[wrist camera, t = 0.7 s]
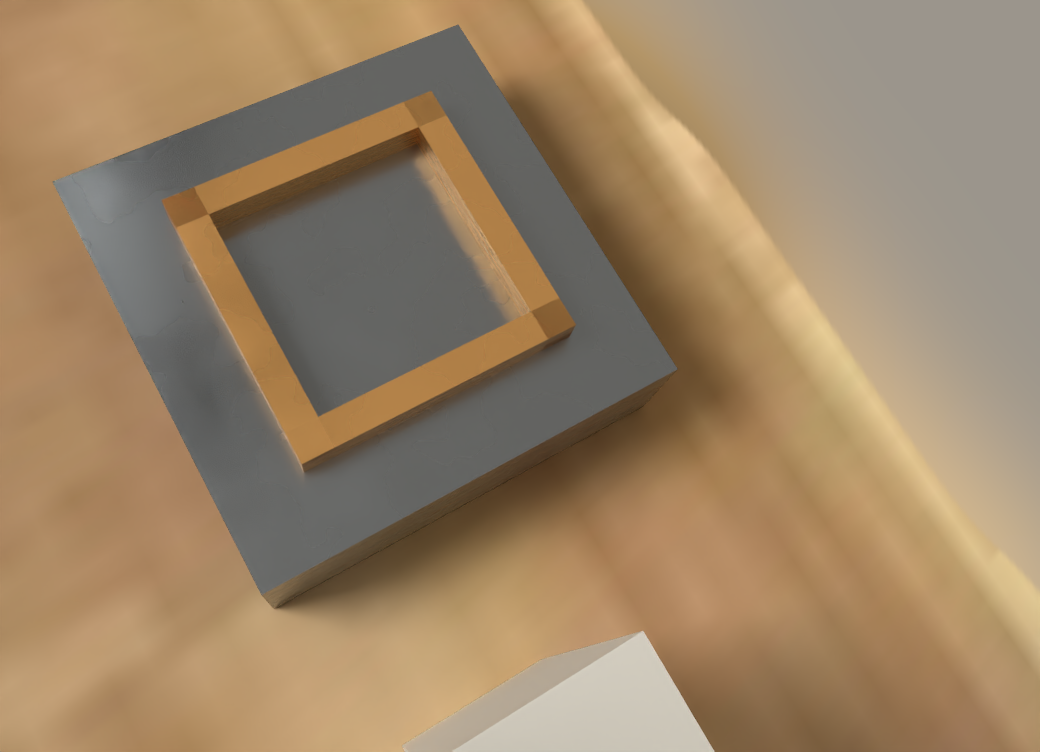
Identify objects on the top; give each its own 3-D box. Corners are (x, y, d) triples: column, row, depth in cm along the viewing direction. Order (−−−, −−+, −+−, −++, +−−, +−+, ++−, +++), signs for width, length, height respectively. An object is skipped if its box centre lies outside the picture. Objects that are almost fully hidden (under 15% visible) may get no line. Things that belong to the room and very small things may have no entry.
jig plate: (87, 241, 33) (42, 164, 28) (448, 93, 37) (461, 4, 32) (274, 608, 30) (257, 590, 26) (643, 405, 34) (687, 358, 30)
